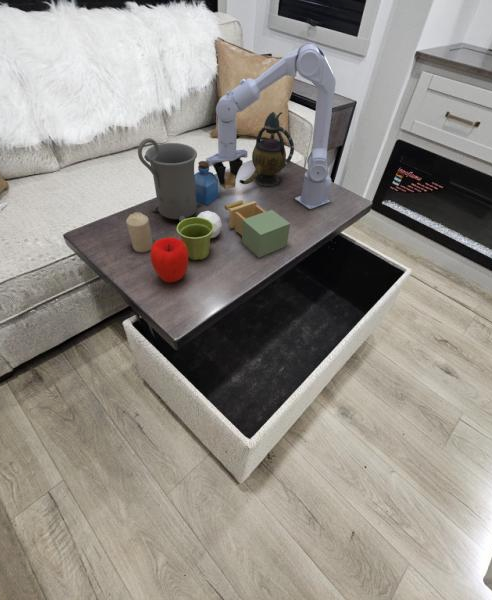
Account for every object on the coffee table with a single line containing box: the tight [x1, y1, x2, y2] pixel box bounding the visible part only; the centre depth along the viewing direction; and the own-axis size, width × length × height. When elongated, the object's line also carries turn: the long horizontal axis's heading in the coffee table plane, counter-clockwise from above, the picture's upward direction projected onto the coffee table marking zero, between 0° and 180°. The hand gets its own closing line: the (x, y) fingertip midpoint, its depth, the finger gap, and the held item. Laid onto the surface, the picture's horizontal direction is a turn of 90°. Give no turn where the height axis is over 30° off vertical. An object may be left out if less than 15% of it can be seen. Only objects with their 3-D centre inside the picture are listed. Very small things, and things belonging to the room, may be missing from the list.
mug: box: [137, 137, 199, 223], centre depth 95 cm, size 19×15×25 cm
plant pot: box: [176, 216, 214, 261], centre depth 89 cm, size 9×9×9 cm
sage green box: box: [241, 209, 291, 259], centre depth 94 cm, size 8×10×8 cm
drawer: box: [224, 200, 267, 236], centre depth 100 cm, size 12×9×6 cm
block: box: [218, 170, 237, 191], centre depth 113 cm, size 4×4×4 cm
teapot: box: [239, 111, 295, 187], centre depth 114 cm, size 12×25×23 cm, turn 145°
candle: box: [125, 211, 154, 253], centre depth 89 cm, size 6×6×10 cm
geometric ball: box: [196, 210, 223, 239], centre depth 96 cm, size 8×8×8 cm
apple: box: [149, 236, 189, 283], centre depth 81 cm, size 9×9×11 cm
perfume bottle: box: [194, 160, 219, 206], centre depth 109 cm, size 6×6×12 cm
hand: (227, 181), depth 113 cm, fingers closed on block, 4 cm apart
